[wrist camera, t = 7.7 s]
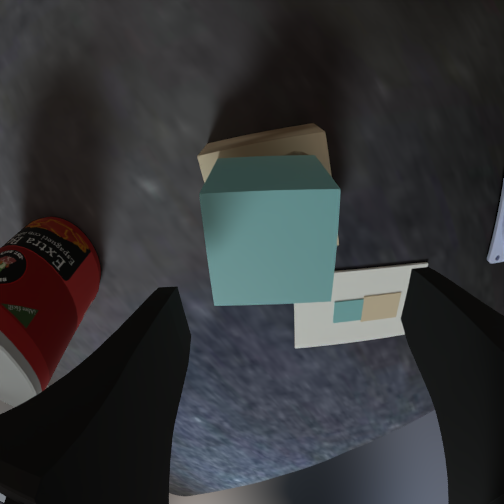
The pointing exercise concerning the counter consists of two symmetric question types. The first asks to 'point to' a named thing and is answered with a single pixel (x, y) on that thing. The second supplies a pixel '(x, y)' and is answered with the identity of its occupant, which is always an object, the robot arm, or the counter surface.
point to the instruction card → (356, 307)
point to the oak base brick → (269, 146)
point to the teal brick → (270, 230)
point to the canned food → (42, 302)
